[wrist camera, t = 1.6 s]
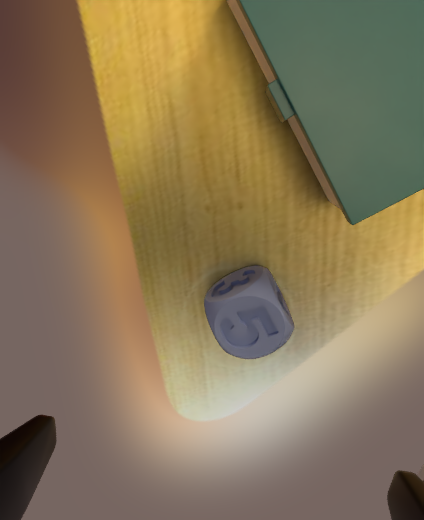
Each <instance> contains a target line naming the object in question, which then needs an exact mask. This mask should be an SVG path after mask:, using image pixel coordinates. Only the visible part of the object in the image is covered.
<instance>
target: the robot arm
mask: <svg viewBox="0 0 424 520" xmlns="http://www.w3.org/2000/svg"><path fill="white" fill-rule="evenodd" d="M55 445H56V427H55V419H54V418H53V417H52V416H46V415H38V416H36V417H34V418H32V419H31V420H29V421H28V422H26V423H25V424H23V425H21V426H20V427H18V428H17V429H15V430H13V431H12V432H10V433H9V434H7V435H5V436H4V437H2V438H1V439H0V520H21V518H22V516H23V514H24V512H25V511H26V509H27V507H28V505H29V502H30V500H31V498H32V496H33V494H34V492H35V490H36V488H37V485H38V483H39V481H40V479H41V477H42V475H43V472H44V470H45V468H46V466H47V464H48V462H49V459H50V457H51V455H52V453H53V451H54V448H55ZM387 500H388V506H389V510H390V514H391V519H392V520H424V480H423V481H422V480H421V479H420V478H419V477H418V476H417V475H416V474H414V473H412V472H406V471H397V472H395V474H394V477H393V480H392V483H391V485H390V488H389V491H388V495H387Z"/></svg>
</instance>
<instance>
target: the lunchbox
mask: <svg viewBox="0 0 424 520" xmlns="http://www.w3.org/2000/svg"><path fill="white" fill-rule="evenodd" d="M226 1H227V3H228V5H229V7H230V9H231V11H232V13H233V15H234V17H235V19H236V21H237V22H238V24H239V26H240V28H241V30H242V32H243V34H244V36H245V38H246V40H247V42H248V44H249V46H250V48H251V50H252V52H253V54H254V56H255V58H256V60H257V62H258V64H259V66H260V67H261V69H262V71H263V73H264V75H265V77H266V79H267V81H268V83H269V84H268V85H267V88H266V91H265V93H266V95H267V97H268V99H269V101H270V102H271V104H272V106H273V108H274V110H275V112H276V114H277V116H278V118H279V120H280V122H281V123H282V122H284V121H286V120H288V122H289V124H290V126H291V128H292V130H293V132H294V134H295V136H296V138H297V140H298V142H299V144H300V146H301V148H302V150H303V152H304V154H305V155H306V157H307V159H308V161H309V163H310V165H311V167H312V169H313V171H314V173H315V175H316V177H317V179H318V181H319V183H320V185H321V187H322V189H323V191H324V193H325V195H326V197H327V199H328V200H329V201H330V202H331V203H333V204H334V205H335V206H337V207H338V208H340V209H341V210H342V212H343V214H344V216H345V218H346V220H347V221H348V222H349V223H350V224H352V225H354V224H356V223H358V222H360V221H362V220H364V219H366V218H368V217H370V216H372V215H374V214H376V213H378V212H379V211H381V210H383V209H385V208H387V207H389V206H391V205H393V204H395V203H397V202H399V201H401V200H403V199H405V198H406V197H408V196H410V195H412V194H414V193H416V192H418V191H420V190H422V189H424V0H226Z"/></svg>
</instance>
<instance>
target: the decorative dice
mask: <svg viewBox="0 0 424 520" xmlns="http://www.w3.org/2000/svg"><path fill="white" fill-rule="evenodd" d="M204 307H205V312H206V316H207V319H208V322H209V325H210V328H211V330H212V332H213V334H214V336H215V338H216V340H217V341H218V343H219V345H220V346H221V347H222V349H223V350H224V351H225V352H227V353H228V354H230V355H232V356H235V357H239V358H243V359H256V358H260V357H263V356H266V355H268V354H270V353H272V352H274V351H276V350H277V349H279V348H280V347H281V346H282V345H284V344H285V343H286V342H287V340H288V339H289V338H290V336H291V334H292V332H293V330H294V323H293V320H292V317H291V314H290V312H289V309H288V307H287V304H286V302H285V300H284V298H283V296H282V293H281V291H280V289H279V287H278V285H277V283H276V281H275V280H274V278H273V276H272V274H271V273H270V271H269V270H268V269H267V268H265V267H262V266H258V265H255V266H249V267H245V268H242V269H239V270H237V271H235V272H233V273H231V274H229V275H227V276H225V277H224V278H222V279H221V280H219V281H218V282H217V283H215V284H214V285H213V286H212V287H211V288H210V289H209V290H208V292H207V293H206V295H205V299H204Z"/></svg>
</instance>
